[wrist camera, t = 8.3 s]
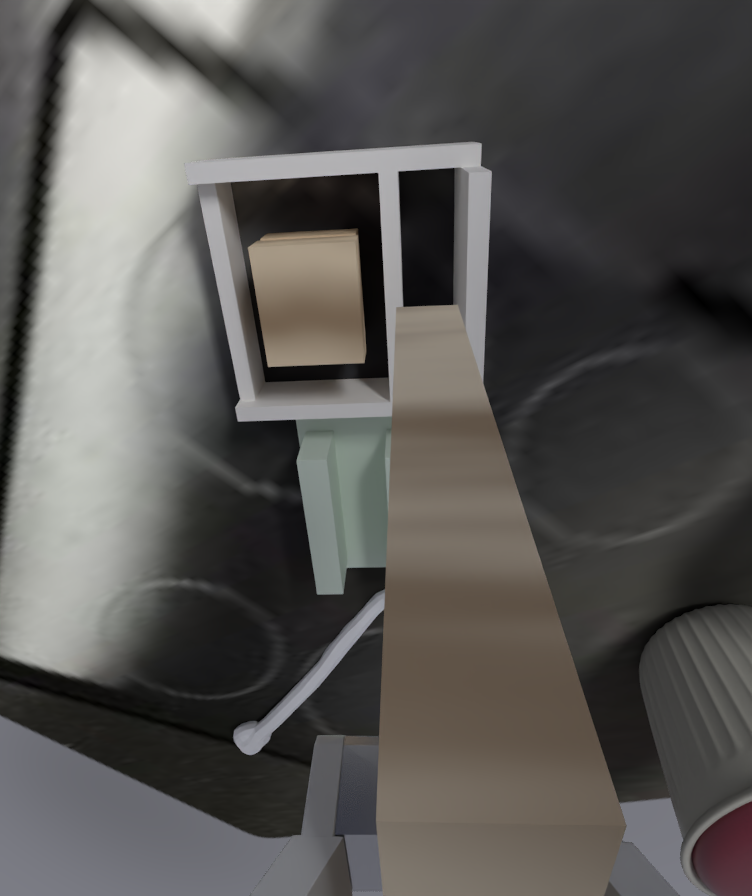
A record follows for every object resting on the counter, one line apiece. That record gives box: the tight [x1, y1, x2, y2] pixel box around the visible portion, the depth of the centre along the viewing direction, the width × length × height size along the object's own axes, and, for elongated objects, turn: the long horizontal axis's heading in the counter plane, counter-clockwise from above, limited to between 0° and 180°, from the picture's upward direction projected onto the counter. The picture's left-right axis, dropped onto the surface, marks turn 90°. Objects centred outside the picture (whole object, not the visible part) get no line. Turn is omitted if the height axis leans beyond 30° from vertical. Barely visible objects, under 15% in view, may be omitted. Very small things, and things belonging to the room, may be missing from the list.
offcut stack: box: [248, 228, 366, 367], centre depth 33 cm, size 7×6×6 cm
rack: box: [184, 142, 492, 422], centre depth 32 cm, size 15×15×8 cm
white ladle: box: [233, 589, 385, 755], centre depth 53 cm, size 28×4×3 cm, turn 148°
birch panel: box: [376, 305, 626, 896], centre depth 13 cm, size 11×2×14 cm, turn 3°
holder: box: [296, 416, 392, 594], centre depth 41 cm, size 14×9×5 cm, turn 3°
